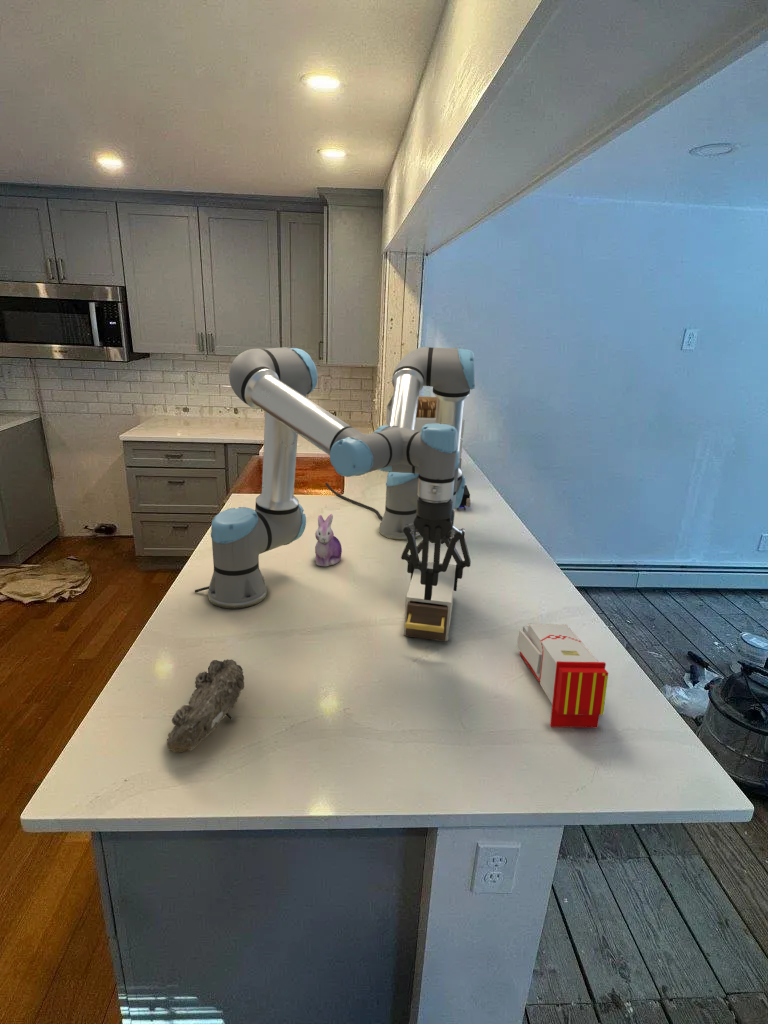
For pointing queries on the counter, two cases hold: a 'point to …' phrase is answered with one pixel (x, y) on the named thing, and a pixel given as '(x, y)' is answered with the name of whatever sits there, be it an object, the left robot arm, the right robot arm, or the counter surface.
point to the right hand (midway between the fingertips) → (433, 586)
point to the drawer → (426, 620)
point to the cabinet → (433, 591)
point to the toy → (565, 673)
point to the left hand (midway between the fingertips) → (428, 597)
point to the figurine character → (465, 499)
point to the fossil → (206, 705)
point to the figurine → (326, 543)
